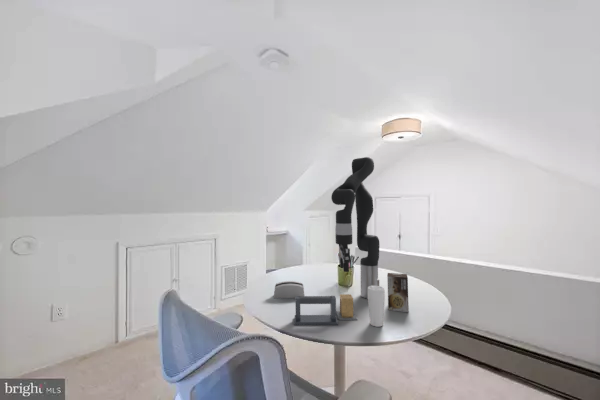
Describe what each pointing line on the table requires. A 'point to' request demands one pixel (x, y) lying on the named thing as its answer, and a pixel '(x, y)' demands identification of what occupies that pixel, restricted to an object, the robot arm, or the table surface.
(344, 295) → the block
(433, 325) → the table surface
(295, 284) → the grey curved block
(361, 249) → the robot arm
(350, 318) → the slate pad
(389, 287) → the cookie box
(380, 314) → the drinking glass
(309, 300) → the rail stand
